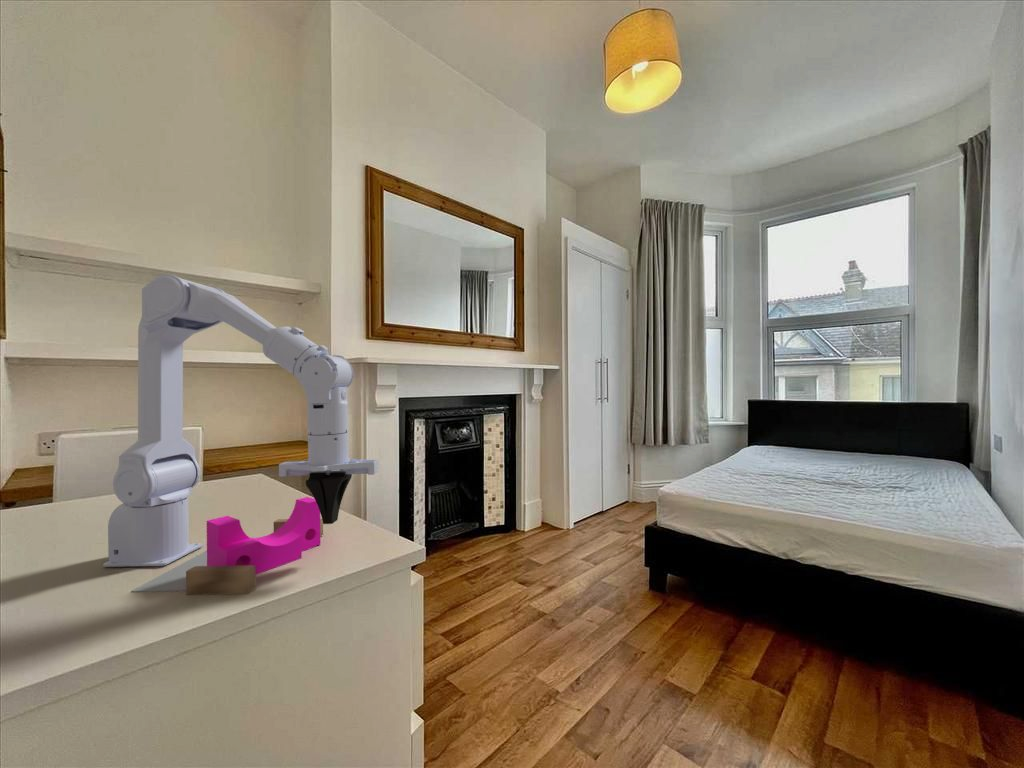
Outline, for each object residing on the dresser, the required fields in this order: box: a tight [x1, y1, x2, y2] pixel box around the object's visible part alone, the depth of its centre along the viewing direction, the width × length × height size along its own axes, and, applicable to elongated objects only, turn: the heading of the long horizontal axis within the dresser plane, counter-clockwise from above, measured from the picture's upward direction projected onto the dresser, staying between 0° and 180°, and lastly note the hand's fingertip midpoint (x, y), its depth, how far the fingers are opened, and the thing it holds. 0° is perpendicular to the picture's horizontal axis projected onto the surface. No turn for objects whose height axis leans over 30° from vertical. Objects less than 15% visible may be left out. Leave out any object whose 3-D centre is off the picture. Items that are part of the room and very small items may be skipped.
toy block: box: [206, 496, 321, 575], centre depth 64 cm, size 15×6×8 cm, turn 146°
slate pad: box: [130, 550, 207, 593], centre depth 65 cm, size 8×19×1 cm, turn 179°
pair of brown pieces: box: [185, 517, 324, 596], centre depth 64 cm, size 8×21×3 cm, turn 0°
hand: (330, 521), depth 64 cm, fingers closed
